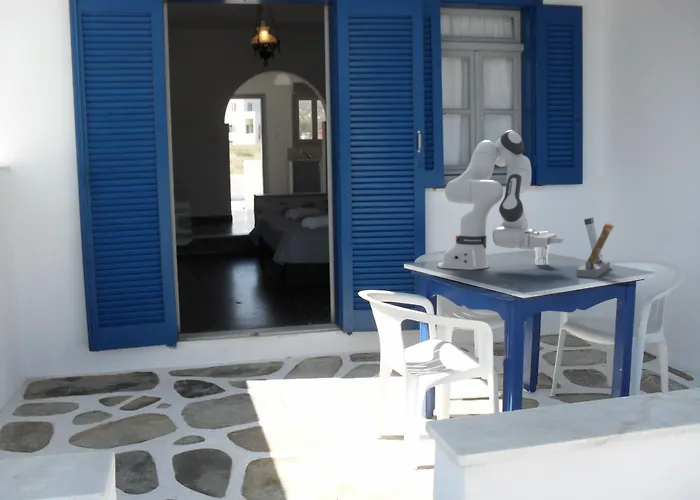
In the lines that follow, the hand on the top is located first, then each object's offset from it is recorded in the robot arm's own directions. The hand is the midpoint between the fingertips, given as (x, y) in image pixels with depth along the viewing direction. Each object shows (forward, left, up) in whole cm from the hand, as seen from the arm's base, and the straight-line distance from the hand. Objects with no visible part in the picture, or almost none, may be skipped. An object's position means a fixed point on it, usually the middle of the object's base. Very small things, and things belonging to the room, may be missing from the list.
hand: (562, 240), depth 313 cm
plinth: (+13, +6, -14) cm, 20 cm away
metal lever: (+16, +15, -10) cm, 24 cm away
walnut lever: (+11, -3, -10) cm, 15 cm away
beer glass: (-8, +24, -14) cm, 29 cm away
